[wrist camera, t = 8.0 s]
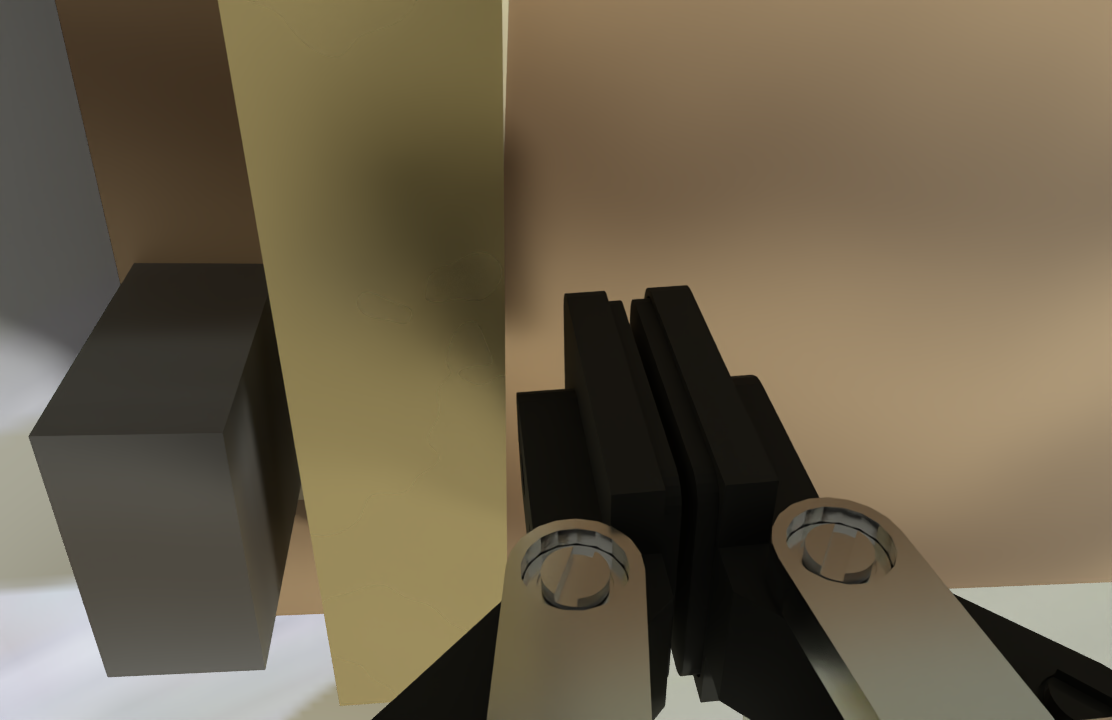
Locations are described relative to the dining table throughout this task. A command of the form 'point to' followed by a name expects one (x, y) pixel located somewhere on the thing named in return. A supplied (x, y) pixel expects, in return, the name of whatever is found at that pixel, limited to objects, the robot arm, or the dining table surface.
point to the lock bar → (385, 307)
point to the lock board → (630, 281)
